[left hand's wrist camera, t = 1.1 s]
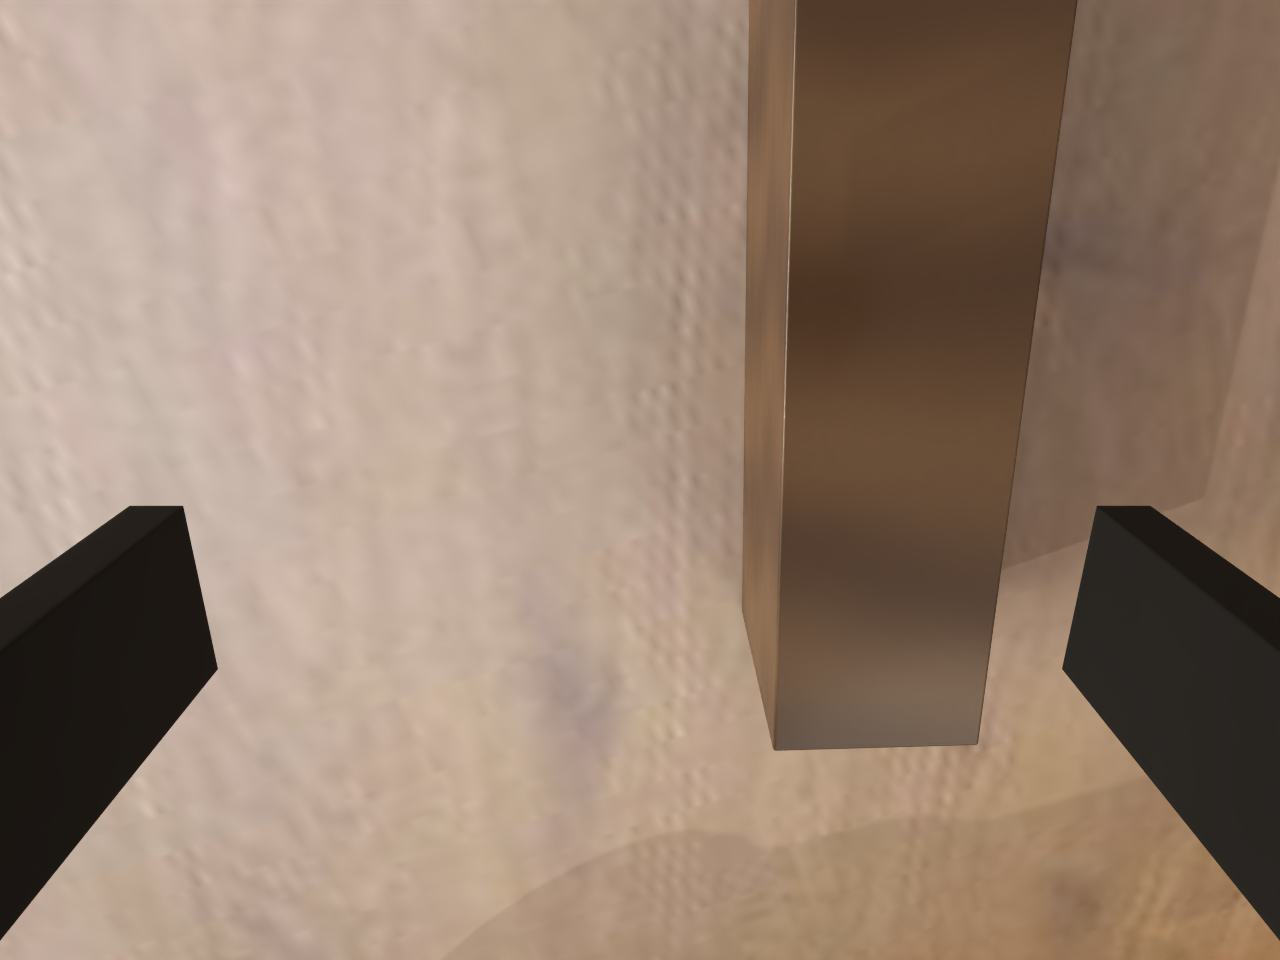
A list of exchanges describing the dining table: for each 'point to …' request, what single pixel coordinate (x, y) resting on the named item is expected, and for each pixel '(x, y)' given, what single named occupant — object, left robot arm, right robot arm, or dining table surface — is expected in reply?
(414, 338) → the dining table surface
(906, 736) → the bar
